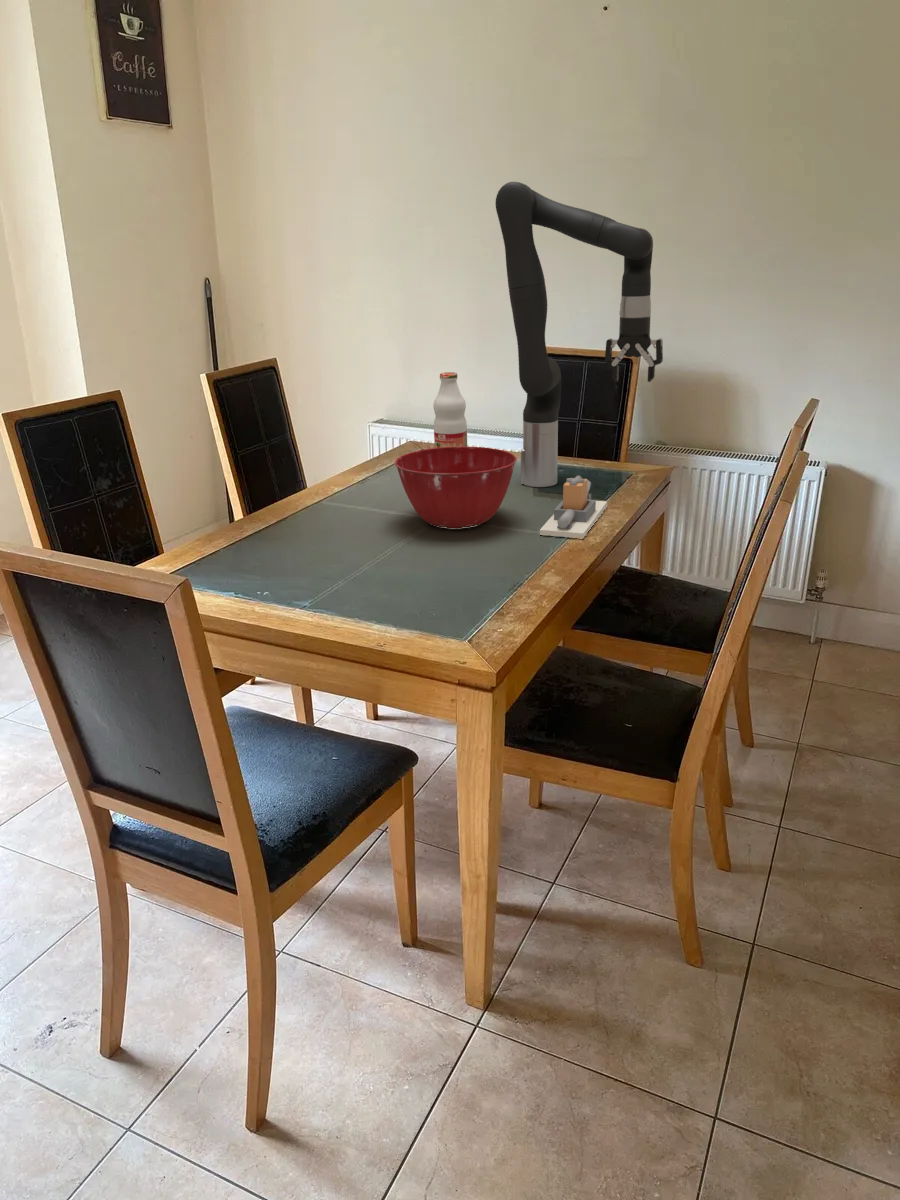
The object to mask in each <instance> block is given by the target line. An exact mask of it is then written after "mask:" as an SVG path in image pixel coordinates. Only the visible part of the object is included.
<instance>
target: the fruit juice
mask: <svg viewBox="0 0 900 1200" xmlns="http://www.w3.org/2000/svg"><path fill="white" fill-rule="evenodd" d="M457 380H458V373H457V372H454V371H453V372H451V371H450V372H449V371H446V372H441V373H439V381H440V386H439V389H438V392H437V395H436V397H435V399H434V401H433V411H434V414H435V418H434V421H433V436H434V437H433V438H434V441H433V443H434V444H435V443H436V445H437V448H440V446H441V443H442V444H443V447H447V444H448V443H449V446H450V447H453V445H454V443H455V444H456V447H459V446H460V443H461V444H462V446H463V447H468V425H467V424H468V423H467V419H466V417H465V412H466V408H467V406H466V405H467V404H466V403H467V402H466V400H465V398H464V397H463V395H462V394H461V391H460V389H459V386H458V383H457V382H458V381H457ZM434 444H433V445H434Z"/></svg>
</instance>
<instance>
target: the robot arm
mask: <svg viewBox="0 0 900 1200" xmlns="http://www.w3.org/2000/svg"><path fill="white" fill-rule="evenodd" d="M495 210H496V215H497V218H498V221H499V226H500V232H501V234H502V239H503V244H504V252H505V263H506V264H505V265H506V276H507V277H506V278H507V286H508V293H509V295H508V296H509V301H510V307H511V311H512V319H513V324H514V329H515V330H514V332H515V336H516V342H517V343H516V344H517V353H518V356H517V357H518V378H519V382H520V386H521V388H522V390H523V391H524V392H525V393H526V402H525V405H524V407H523V411H522V434H523V435H522V438H523V439H522V447H523V448H521V450H520V485H522V484H524V486H527V487H532V488H533V487H534V488H547V487H552V486H555V485H557V484H558V460H559V459H558V455H559V454H558V453H559V452H558V451H559V450H558V447H559V445H558V443H559V441H558V440H559V439H558V437H559V436H558V434H559V433H558V432H559V411H560V408H561V407H560V406H561V396H562V395H561V393H562V392H561V391H562V373H561V372H562V371H561V367H560V366H559V364H558V363H557V361H556V360H555V359H554V358H551V357H549V355H548V352H547V351H548V350H547V345H546V328H547V327H546V326H547V325H546V324H547V318H548V317H547V316H548V295H547V294H548V293H547V287H546V281H545V280H546V279H545V275H544V272H543V267H542V264H541V260H540V257H539V254H538V251H537V249H536V245H535V239H534V231H533V226H534V225H536V226H540V227H544V228H546V229H551V230H553V231H556V232H558V233H561V234H563V235H565V236H567V237H570V238H572V239H573V240H577V241H579V242H582V243H585V244H587V245H591V246H594V247H597V248H600V249H605V250H608V251H611V252H612V253H614V254H617V255H619V256H622V257H623V275H622V278H621V296H620V297H621V298H620V304H619V329H618V331H619V332H618V339H613V338H608V339H607V340H606V342H605V351H604V353H605V354H604V363H605V364H607V365H610V366H611V378H612V380H613V381H614V382H618V381H619V378H620V377H619V376H620V375H619V373H620V365H619V363H620V362H621V361H622V360H623V358H624V357H626V358H632V357H634V358H640V357H642V358H643V359H644V360H645V362H646V363H647V364H648V366H647V382H648V383H650V382H651V383H652V381H653V380H654V379H655V375H656V373H655V372H656V366H658V365H661V364H662V363H663V361H664V356H663V355H664V354H663V353H664V351H663V339H662V338H658V339H651V334H650V333H651V313H652V304H651V303H652V301H651V286H652V282H651V281H652V278H651V277H652V276H651V270H652V261H653V260H652V259H653V250H654V241H653V240H654V239H653V237H652V234H651V233H650V232H649V231H648V230H646V229H645V228H640V227H636V226H632V225H629V224H626V223H622V222H618V221H617V220H615V219H612V218H611V217H608V216H606V215H602V214H600V213H596V212H593V211H590V210H586V209H583V208H579V207H575V206H572V205H567V204H563V203H561V202H558V201H556V200H553V199H550V198H549V197H546V196H544V195H542V194H541V193H539V192H537V191H535V190H534V189H532V188H531V187H530V186H528V185H527V184H524V183H522V182H520V181H510V182H507V183H505V184H503V185H502V186H501V187H500V189H499V190H498V192H497V194H496V197H495ZM616 345H617V346H618V348H619V349H620V351H619V353H618V354H617V355H616V357H615V358H612V357H613V355H612V354H613V349H614V348H615V347H616ZM651 345H652V346H653V349H655V357H656V358H655V359H654V358H653V356H652V354H651V353H650V351H649V348H650V347H651Z"/></svg>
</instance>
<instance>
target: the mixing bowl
mask: <svg viewBox="0 0 900 1200" xmlns="http://www.w3.org/2000/svg"><path fill="white" fill-rule="evenodd" d="M517 461H518V458H517V456H516V455H515V454H514V453H512V452H509V451H507V450H506V451H505V450H503V449H500V448H499V449H498V448H492V447H485V446H484V447H483V446H467V447H441V448H434V447H431V449H427V448H426V449H420V450H415V451H411V452H408V453H405V454H403V455H400V456H399V457H397V458H396V459H395V461H394V465H395V467H396V468H397V471H398V475H399V479H400V481H401V484H402V486H403V490H404V491H405V492H404V493H405V494H406V496H407V498H408V500H409V502H410V504H411V506H412V507H413V509H414V511H415V513H417V515H418V516H419V517H420V518H421V520H423V521H424V522H426V523H428V524H429V525H431V524H432V525H435V526H439V527H447V528H462V527H470V526H475V525H479V524H482V523H484V522H485V523H486V522H488V521H489V520H490V519H491V518H493V516H494V515H495V514H496V513H498V510H499V508H500V507H501V504H502V502H503V500H504V499H505V496H506V494H507V490H508V489H509V486H510V483H511V480H512V476H513V472H514V470H515V469H514V468H515V464H516V462H517ZM485 523H484V524H485ZM432 525H431V526H432ZM482 525H483V524H482Z"/></svg>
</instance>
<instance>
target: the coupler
mask: <svg viewBox="0 0 900 1200" xmlns="http://www.w3.org/2000/svg"><path fill="white" fill-rule="evenodd" d="M587 484H588V479H587V478H583V477H582V476H581V475H576V476H575V477H569V478H568V477H567V478H566V482H564V484H563V485H562V487H563V488H562V489H563V492H562V496H563V497H562V498H563V499H562V500H563V509H572V510H584V509H585V507H586V506H587Z"/></svg>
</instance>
